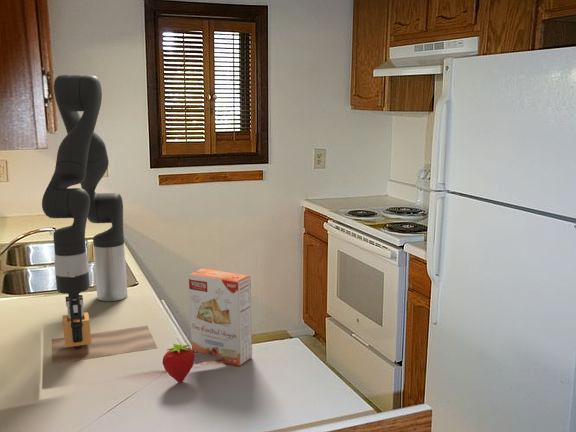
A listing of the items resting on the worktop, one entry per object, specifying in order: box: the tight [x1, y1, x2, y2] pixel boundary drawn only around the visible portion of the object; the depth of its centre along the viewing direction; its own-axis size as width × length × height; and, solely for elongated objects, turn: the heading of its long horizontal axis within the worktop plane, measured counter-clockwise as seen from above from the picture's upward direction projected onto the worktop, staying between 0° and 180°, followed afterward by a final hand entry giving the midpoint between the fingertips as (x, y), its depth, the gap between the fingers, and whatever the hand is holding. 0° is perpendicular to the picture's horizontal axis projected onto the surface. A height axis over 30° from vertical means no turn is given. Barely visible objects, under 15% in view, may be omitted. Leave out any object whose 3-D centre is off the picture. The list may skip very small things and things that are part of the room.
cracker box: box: [188, 267, 253, 367], centre depth 141 cm, size 14×6×21 cm, turn 62°
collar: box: [61, 311, 92, 347], centre depth 145 cm, size 6×6×6 cm
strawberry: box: [162, 339, 196, 383], centre depth 130 cm, size 6×8×10 cm
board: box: [51, 325, 158, 365], centre depth 148 cm, size 16×24×8 cm, turn 112°
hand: (77, 336), depth 146 cm, fingers closed on collar, 6 cm apart
